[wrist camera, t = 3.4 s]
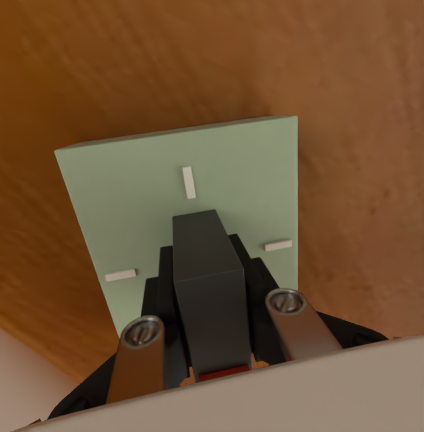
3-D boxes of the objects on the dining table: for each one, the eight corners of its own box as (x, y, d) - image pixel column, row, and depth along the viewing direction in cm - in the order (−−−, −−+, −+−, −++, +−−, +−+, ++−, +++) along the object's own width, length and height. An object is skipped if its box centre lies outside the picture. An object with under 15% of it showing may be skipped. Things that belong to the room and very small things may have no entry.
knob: (172, 216, 12) (173, 287, 7) (215, 208, 12) (246, 272, 7) (189, 303, 14) (200, 407, 9) (226, 296, 14) (257, 393, 9)
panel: (78, 142, 13) (51, 151, 10) (272, 115, 14) (299, 115, 11) (135, 326, 17) (128, 369, 15) (278, 296, 18) (299, 331, 15)
